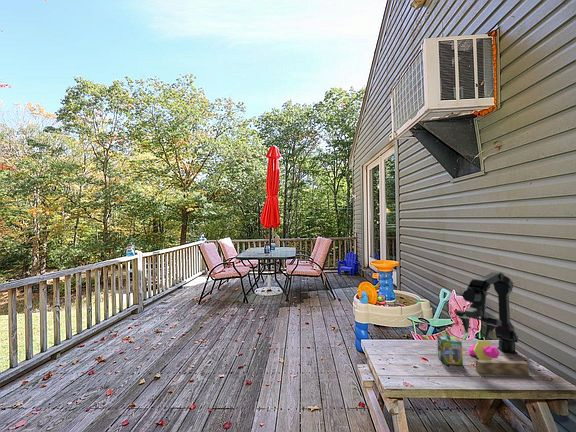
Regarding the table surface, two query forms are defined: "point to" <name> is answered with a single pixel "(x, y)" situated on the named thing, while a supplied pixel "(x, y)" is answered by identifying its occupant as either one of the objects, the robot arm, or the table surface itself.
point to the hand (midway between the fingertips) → (476, 335)
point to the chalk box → (449, 349)
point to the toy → (484, 350)
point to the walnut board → (502, 367)
